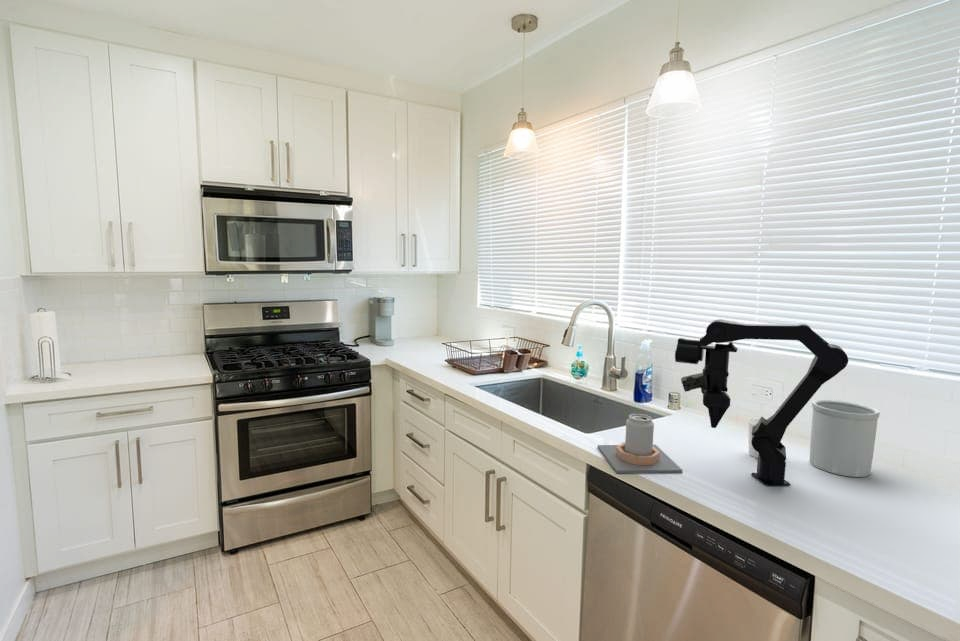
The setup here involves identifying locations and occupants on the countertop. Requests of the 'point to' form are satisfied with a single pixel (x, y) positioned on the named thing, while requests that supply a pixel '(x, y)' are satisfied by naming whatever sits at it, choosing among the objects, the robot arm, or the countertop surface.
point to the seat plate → (638, 460)
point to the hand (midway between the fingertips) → (712, 422)
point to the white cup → (751, 450)
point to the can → (639, 435)
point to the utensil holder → (843, 437)
